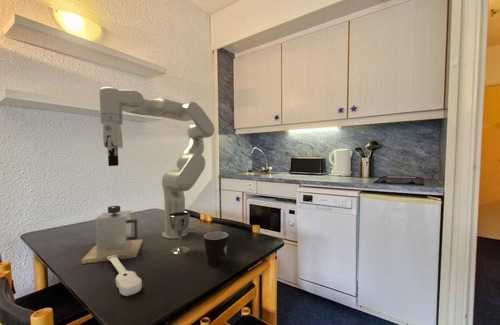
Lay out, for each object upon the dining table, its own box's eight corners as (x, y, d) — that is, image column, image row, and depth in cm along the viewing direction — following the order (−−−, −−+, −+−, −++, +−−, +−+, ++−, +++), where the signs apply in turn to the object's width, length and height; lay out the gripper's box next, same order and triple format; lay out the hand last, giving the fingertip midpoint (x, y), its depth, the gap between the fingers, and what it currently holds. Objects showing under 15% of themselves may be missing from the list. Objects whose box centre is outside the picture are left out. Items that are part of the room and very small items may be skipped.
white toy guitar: (102, 265, 83) (101, 257, 83) (120, 260, 87) (119, 253, 86) (123, 301, 62) (122, 290, 62) (145, 292, 66) (145, 282, 66)
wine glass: (169, 255, 90) (168, 217, 90) (170, 247, 98) (169, 212, 97) (190, 253, 92) (189, 215, 92) (190, 245, 100) (189, 210, 100)
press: (142, 242, 105) (141, 208, 104) (136, 257, 89) (135, 217, 89) (96, 247, 99) (95, 211, 99) (81, 264, 84) (80, 221, 84)
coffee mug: (217, 255, 89) (216, 229, 89) (233, 262, 84) (233, 234, 84) (192, 267, 80) (191, 238, 80) (208, 275, 75) (208, 244, 75)
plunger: (128, 242, 99) (127, 204, 99) (124, 249, 92) (123, 208, 91) (106, 244, 97) (105, 205, 97) (100, 252, 89) (99, 209, 89)
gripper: (117, 117, 87) (119, 166, 88) (126, 122, 101) (127, 164, 102) (94, 116, 85) (96, 166, 85) (106, 122, 99) (108, 165, 100)
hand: (113, 165), depth 94 cm, fingers closed
